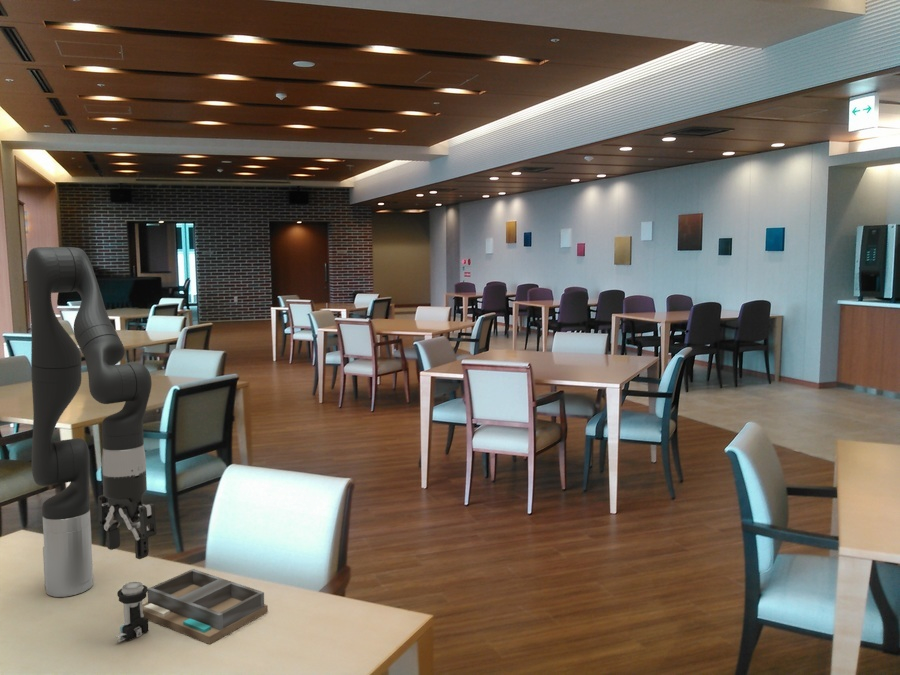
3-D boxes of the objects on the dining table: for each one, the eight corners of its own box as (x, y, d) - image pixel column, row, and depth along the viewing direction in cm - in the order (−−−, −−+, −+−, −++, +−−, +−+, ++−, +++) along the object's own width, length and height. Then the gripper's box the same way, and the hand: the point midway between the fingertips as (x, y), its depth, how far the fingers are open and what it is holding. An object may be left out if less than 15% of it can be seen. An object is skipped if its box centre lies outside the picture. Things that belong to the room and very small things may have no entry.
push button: (125, 648, 135) (123, 597, 134) (106, 641, 137) (104, 590, 136) (155, 632, 141) (153, 583, 140) (136, 625, 143) (134, 577, 142)
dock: (135, 614, 148) (135, 593, 147) (195, 587, 160) (195, 567, 160) (209, 644, 136) (208, 621, 136) (267, 612, 149) (267, 591, 149)
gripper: (82, 468, 136) (86, 552, 138) (130, 480, 129) (133, 568, 130) (119, 460, 143) (122, 539, 144) (166, 470, 135) (169, 554, 137)
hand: (127, 552), depth 137 cm, fingers open, 8 cm apart
